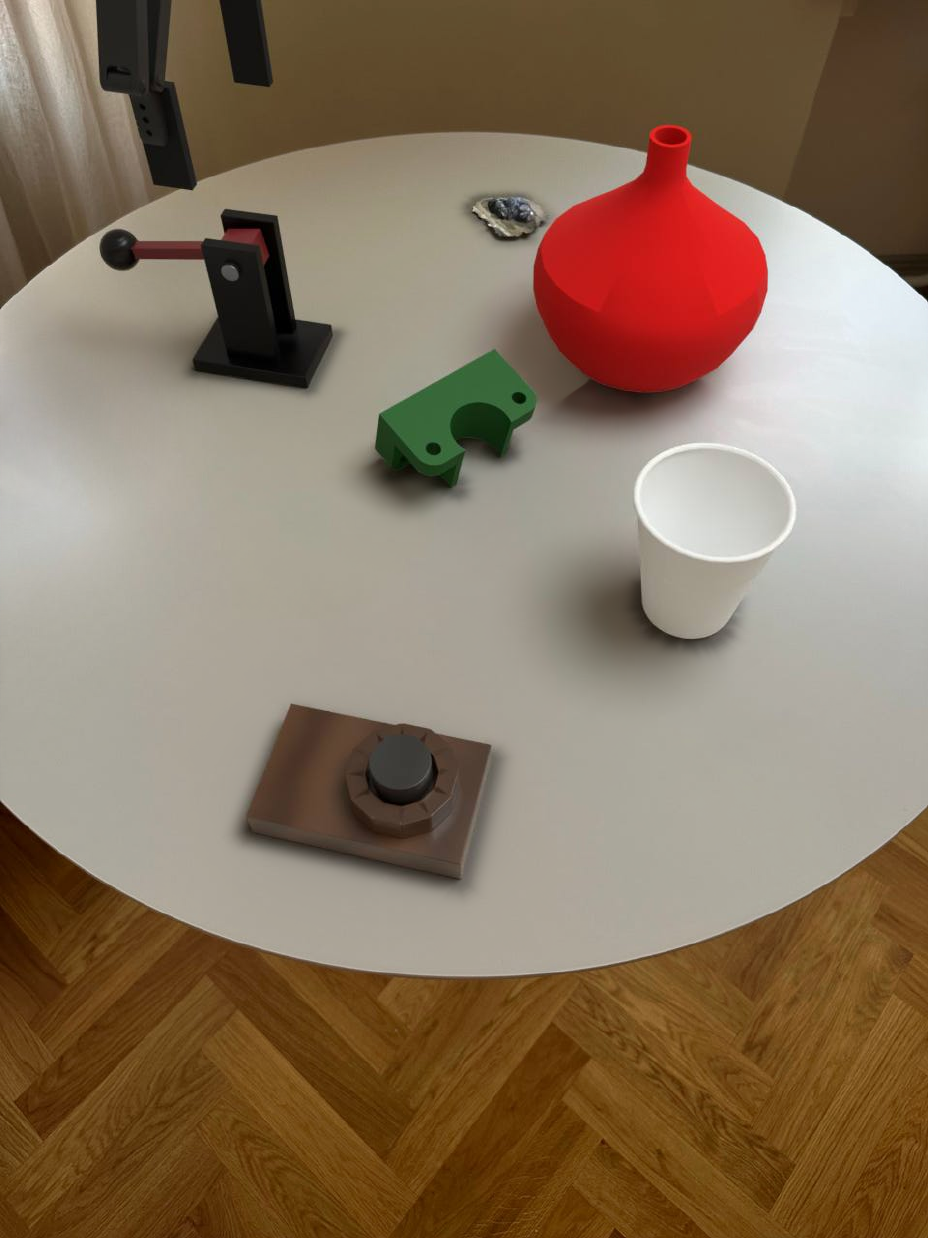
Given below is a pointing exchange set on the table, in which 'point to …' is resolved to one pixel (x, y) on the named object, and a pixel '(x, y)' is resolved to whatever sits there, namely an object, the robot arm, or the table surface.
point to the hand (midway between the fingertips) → (216, 131)
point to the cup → (706, 533)
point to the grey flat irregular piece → (510, 215)
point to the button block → (368, 793)
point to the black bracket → (256, 310)
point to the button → (401, 768)
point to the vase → (650, 277)
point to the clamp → (455, 417)
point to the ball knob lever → (165, 247)
